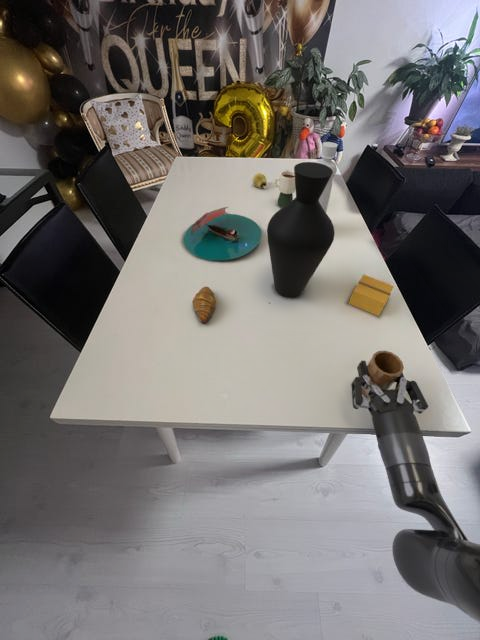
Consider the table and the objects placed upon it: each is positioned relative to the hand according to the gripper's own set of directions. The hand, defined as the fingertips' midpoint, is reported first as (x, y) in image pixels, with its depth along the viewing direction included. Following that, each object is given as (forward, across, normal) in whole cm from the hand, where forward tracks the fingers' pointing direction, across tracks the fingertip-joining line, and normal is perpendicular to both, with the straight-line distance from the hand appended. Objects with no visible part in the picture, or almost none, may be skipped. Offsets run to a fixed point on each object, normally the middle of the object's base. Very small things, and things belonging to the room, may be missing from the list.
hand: (377, 363), depth 64 cm
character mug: (+83, +16, +8) cm, 85 cm away
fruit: (+99, +26, +8) cm, 103 cm away
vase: (+31, +17, +8) cm, 36 cm away
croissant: (+21, +41, +8) cm, 47 cm away
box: (+28, -7, +8) cm, 30 cm away
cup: (-2, 0, +6) cm, 6 cm away
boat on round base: (+56, +39, +8) cm, 69 cm away
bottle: (+64, +7, +8) cm, 65 cm away
